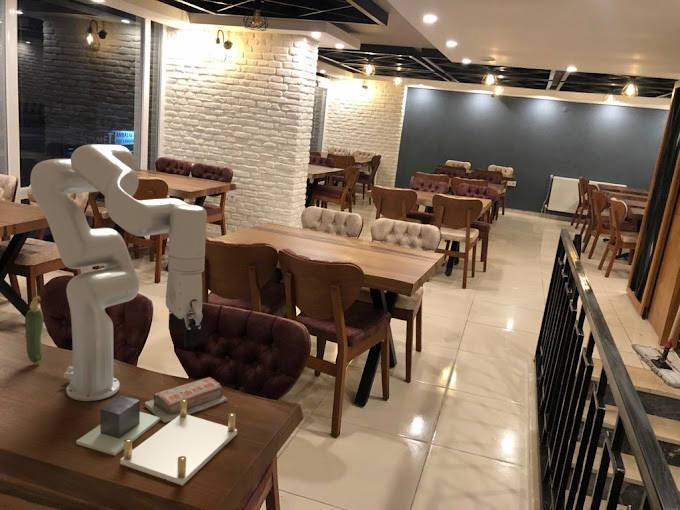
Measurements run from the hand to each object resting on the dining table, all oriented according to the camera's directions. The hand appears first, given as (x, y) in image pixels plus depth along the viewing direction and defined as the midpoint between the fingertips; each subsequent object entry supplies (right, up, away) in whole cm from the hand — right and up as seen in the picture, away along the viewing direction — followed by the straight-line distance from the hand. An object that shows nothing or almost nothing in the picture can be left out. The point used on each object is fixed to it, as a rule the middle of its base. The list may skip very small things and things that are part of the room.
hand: (183, 337), depth 122 cm
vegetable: (-50, -12, +32) cm, 61 cm away
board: (-16, -23, +4) cm, 28 cm away
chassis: (0, -24, 0) cm, 25 cm away
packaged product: (-5, -20, +19) cm, 28 cm away
